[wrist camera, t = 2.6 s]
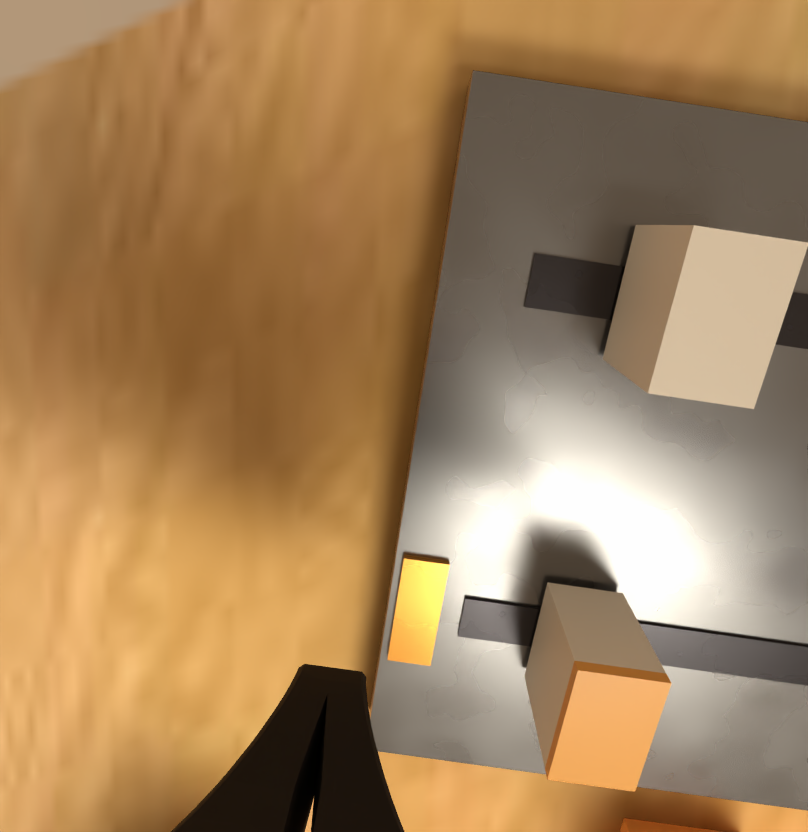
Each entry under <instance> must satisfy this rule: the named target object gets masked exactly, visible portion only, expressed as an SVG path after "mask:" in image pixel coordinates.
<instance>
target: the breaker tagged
mask: <svg viewBox="0 0 808 832" xmlns="http://www.w3.org/2000/svg"><path fill="white" fill-rule="evenodd" d="M524 677H525V682H526V686H527V691H528V695H529V700H530V704H531V709H532V713H533V717H534V722H535V726H536V731H537V735H538V740H539V744H540V749H541V753H542V758H543V762H544V767H545V771H546V776H547V780H553V781H560V782H568V783H575V784H582V785H589V786H597V787H604V788H611V789H619V790H626V791H633V792H635V791H636V788H637V785H638V782H639V779H640V776H641V773H642V770H643V767H644V764H645V761H646V758H647V755H648V752H649V749H650V746H651V743H652V740H653V737H654V734H655V731H656V728H657V725H658V722H659V719H660V716H661V713H662V711H663V708H664V705H665V702H666V699H667V696H668V693H669V690H670V687H671V684H672V683H671V681H670V680H669V678H668V676H667V674H666V672H665V670H664V668H663V667H662V665H661V663H660V661H659V659H658V657H657V655H656V654H655V652H654V650H653V648H652V646H651V644H650V642H649V641H648V639H647V637H646V635H645V633H644V631H643V629H642V628H641V626H640V624H639V622H638V620H637V618H636V617H635V615H634V613H633V611H632V609H631V607H630V605H629V604H628V602H627V600H626V598H625V596H624V594H623V593H618V592H611V591H604V590H597V589H590V588H583V587H576V586H569V585H562V584H555V583H548V582H547V586H546V590H545V594H544V598H543V602H542V606H541V610H540V615H539V619H538V623H537V627H536V631H535V635H534V639H533V643H532V647H531V651H530V655H529V659H528V663H527V667H526V671H525V675H524Z"/></svg>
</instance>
